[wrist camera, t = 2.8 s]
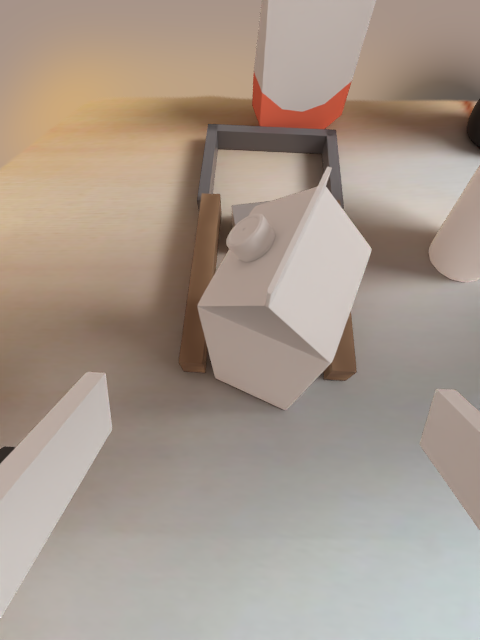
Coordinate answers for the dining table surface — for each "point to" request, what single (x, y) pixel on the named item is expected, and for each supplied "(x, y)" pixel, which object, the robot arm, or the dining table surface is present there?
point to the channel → (201, 275)
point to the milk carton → (283, 294)
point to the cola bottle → (474, 124)
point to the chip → (242, 211)
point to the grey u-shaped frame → (270, 149)
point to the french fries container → (307, 60)
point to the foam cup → (460, 237)
